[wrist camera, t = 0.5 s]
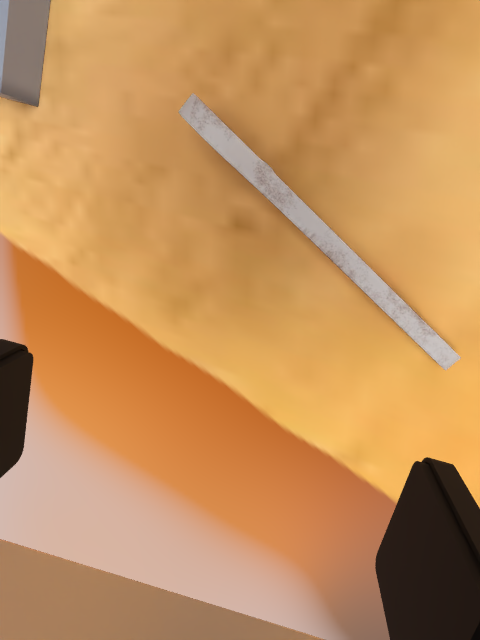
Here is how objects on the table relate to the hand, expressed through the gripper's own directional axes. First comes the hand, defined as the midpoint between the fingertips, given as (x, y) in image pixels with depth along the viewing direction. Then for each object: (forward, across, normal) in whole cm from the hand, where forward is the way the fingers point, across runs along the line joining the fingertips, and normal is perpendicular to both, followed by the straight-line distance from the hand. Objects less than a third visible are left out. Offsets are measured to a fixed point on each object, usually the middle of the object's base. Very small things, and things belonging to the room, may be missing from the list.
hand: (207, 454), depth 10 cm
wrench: (+31, -4, -4) cm, 31 cm away
